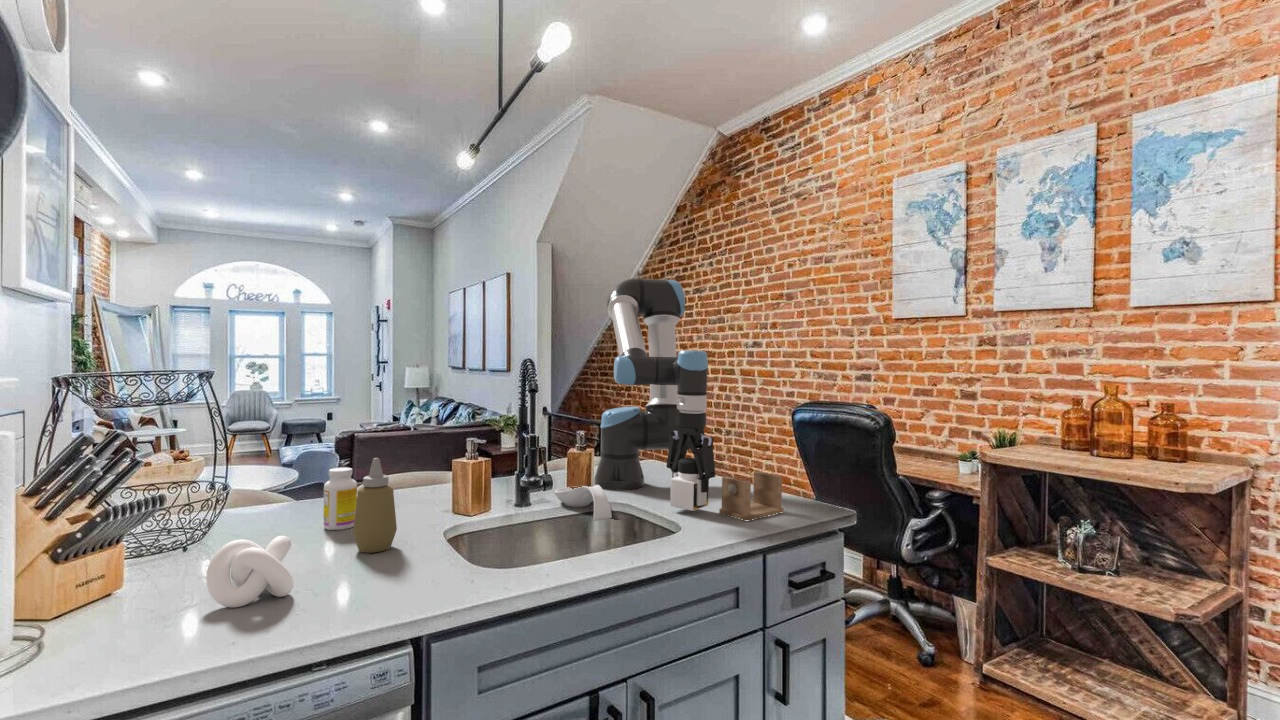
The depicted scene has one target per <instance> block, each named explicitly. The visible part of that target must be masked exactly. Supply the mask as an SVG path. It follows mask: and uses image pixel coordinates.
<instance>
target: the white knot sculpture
mask: <svg viewBox="0 0 1280 720" xmlns="http://www.w3.org/2000/svg"><path fill="white" fill-rule="evenodd" d="M291 547H292V540H291V538H289V537H288V536H285V535H278V536H276V537H274V538H273V539H272V540H270V542H269V544H268V545H267V546H266V547H265V548H263V547H262V546H261V545H259V544H257V543H256V542H254V541H252V540H248V539H235V540H232V541H229V542H227V543H225V544H224V545H223V546H221V547H220V548H218V550H217V551H216V552H215V553H214V555H213V556H212V557H211V559H210V561H209V564H208V566H207V570H206V577H205V580H206V588H207V590H208V592H209V594H210V596H211V598H212V599H213V601H215V602H216V603H217V604H219V605H221V606H223V607H227V608H230V609H231V608H241V607H244V606H246V605H248V604H250V603H252V602H253V601H255V600H256V599H257V598H258V597H259V596H260V595H261V594H262V593H263V591H264V590H265V589H266V590H267V592H269V594H271V596H274V597H277V598H281V597H287V595H289V594H291V592H292V590H293V588H294V578H293V576H292V575H291V573H290V571H289V570H288V569H287V567H286V566H285V565H284V564H283V561H284V559H285V558H286V557H287V554H288V553H289V551H290V549H291Z"/></svg>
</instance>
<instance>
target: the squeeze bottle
mask: <svg viewBox="0 0 1280 720" xmlns="http://www.w3.org/2000/svg"><path fill="white" fill-rule="evenodd" d="M382 469H383V468H382V463H381V460H380V458H379V457H373V459H372V462H371V466H370V470H369V474H368V475H366V476H364V477H363V478H362V487H361V488H359V489H357V503H356V511H355V520H354V526H353V527H352V528H353V529H352V535H353V537H354V541H355V543H356V547H357V548H358V549H357V550H358V551H359V552H361V553H378V552H383V551H386V550H389V549H391V547H392V544H393V542H394V538H395V536H396V533H397V528H398V527H397V518H396V517H397V516H396V507H395V506H396V505H395V496H394V488H393V487H392V486H391V485H389V475H387V474H384V473H383V470H382Z"/></svg>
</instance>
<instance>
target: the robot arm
mask: <svg viewBox="0 0 1280 720" xmlns="http://www.w3.org/2000/svg"><path fill="white" fill-rule="evenodd" d="M684 292H685V291H684V288H683V287H682V284H681V283H680V282H679V281H677V280H673V279H671V280H670V279H667V278H665V279H658V278H657V279H654V278H638V277H637V278H634V277H632V278H629V279H626V280H623V281H622V282H619V283H618V284H617V285H616V286H615V287H614V288H613V289H612V290H611V292H610V293H609V295H608V297H607V302H606V309H607V314H608V316H609V317H610V318H611V320H612V324H613V330H614V334H615V335H614V336H615V340H616V344H617V345H616V346H617V351H618V356H616V357H614V362H613V378H614V382H615V383H616V384H618V385H627V386H646V385H647V386H649V401H648V403H646V405H645V406H644V408H645V411H641V409H640V407H639V406H622V407H615V408H611V409H607V410H605V411H604V412H602V414H601V422H600V460H599V463H598V465H597V468H596V469H597V470H596V473H595V475H594V479H593V480H594V481H593V483H594V485H593V486H595V485H599V486H600V487H601V488H602V489H603V490H604V489H605V490H611V491H612V490H617V491H624V490H625V491H626V490H628V491H629V490H635V489H640V488H642V487H644V486H645V475H644V473H643V469H642V466H641V463H640V451H641V450H643V451H644V450H645V451H648V450H649V451H651V450H652V451H658V450H663V451H665V450H667V458H666V468H667V469H670V471H671V474H672V475H671V478H674V477H678V476H679V475H678V461H679V460H680V459H682V458H686V456H687V453H688V451H689V449H690V452H691V453H692V454H693V458H695V461H696V465H697V469H698V473H699V477H700V478H698V479H697V506H701V505H705V504H707V492H708V493H709V491H708V487H709V488H710V479H711V478H712V479H713V478H715V477H716V466H715V458H714V457H715V456H714V447H713V446H714V437H713V436H707V435H706V433H705V432H704V431H705V428H706V426H707V414H706V412H705V411H707V409H708V408H707V406H708V405H707V404H708V400H707V399H708V398H707V397H708V396H707V395H708V393H707V392H708V368H709V362H708V353H707V352H706V351H704V350H684V349H683V350H680V351H678V353H677V342H676V341H677V339H676V326H677V324H678V323H679V322H680V320H681V318H680V317H682V316H684V314H685V311H686V297H685V293H684ZM638 316H642V317H643V320H642V321H643V323H644V324H645V325H646V326H647V328H648V354H647V350H646V345H645V341H644V337H643V334H642V329H641V328H642V327H641V325H640V321H639V317H638Z"/></svg>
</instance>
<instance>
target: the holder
mask: <svg viewBox="0 0 1280 720" xmlns="http://www.w3.org/2000/svg"><path fill="white" fill-rule="evenodd" d="M751 484H752V482H751V481H747V480H743V479H738V478H734V477H729V476H723V477H721V508H719V510H718V513H722V514H725V515H724V516H726V515H729V516H733V517H736V518H740V519H743V520H752V519H755V518H760V517H764V516H768V515H773V514H776V513H780V512H785V511H784V507H782V501H783V500H782V498H783V495H782V494H783V476H782V475H781V476H780V475H777V474H772V473H767V472H763V471H753V489H751V487H752V485H751ZM751 490H753V491H752V492H753V494H752V493H751ZM751 494H752V495H753V496H752V501H751ZM722 514H721V515H722ZM729 516H728V517H729ZM773 516H774V515H773ZM736 518H735V519H736ZM752 521H753V520H752Z"/></svg>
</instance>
